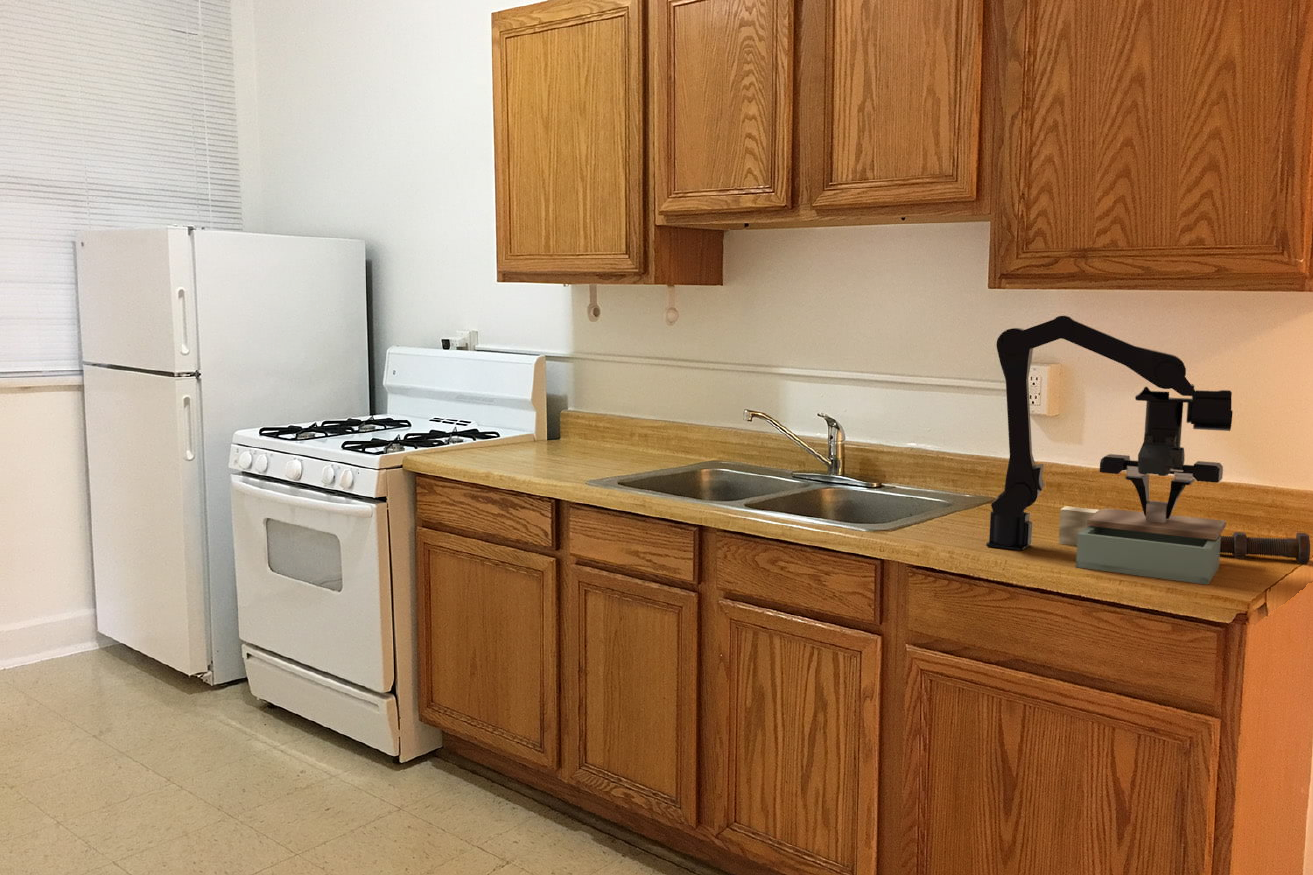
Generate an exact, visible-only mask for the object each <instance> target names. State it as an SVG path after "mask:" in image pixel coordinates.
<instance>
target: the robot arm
mask: <svg viewBox="0 0 1313 875" xmlns="http://www.w3.org/2000/svg"><path fill="white" fill-rule="evenodd" d="M1060 339H1061V340H1065V341H1067V342H1071V343H1072V344H1074V345H1077V346H1078V347H1081V348H1084V349H1086V350H1089V351H1091V352H1093V353H1096V354H1098V355H1100V356H1103V357H1105V358H1107V359H1110V360H1112V361H1113V362H1117V363H1119V364H1121V365H1123V366H1125V367H1127V368H1128V369H1130V370H1131V371H1133V372H1134V373H1136V374H1137V375H1139V376H1140V377H1141V378H1143V379H1144V380H1146V381H1148V382H1149V383H1151V384H1152V385H1153V386H1155V387H1157V388H1159V389H1162V390H1163V389H1164V390H1171V389H1172V390H1173V391H1174V392H1176V393H1178V394H1179V395H1180V396H1182V397H1183V398H1182V397H1170V391H1161V390H1160V391H1158V390H1155V391H1154V390H1151V389H1150V388H1149V387H1148V386H1144V387H1143V389H1142V390H1141V391H1140V392H1139V393H1138V394H1136V395H1135V397H1134V398H1135V401H1139V402H1140V401H1142V402H1146V405H1145V406H1146V408H1145V418H1144V420H1145V421H1144V422H1145V423H1144V435H1143V436H1144V437H1143V443H1142V445H1141V447H1140V450H1139V453H1138V454H1137V460H1132V459H1131V457H1130V455H1128V454H1127V455H1125V454H1113V453H1109V454H1107V455H1105V456H1103V457H1102V458H1100V461H1099V473H1102V474H1112V475H1119V474H1120V473H1121V472H1123V471H1125V472H1126V476H1125V477H1124V478H1125V480H1126V481H1131V483H1132V484H1133V486H1134V487H1135V490H1136V493H1137V495H1138V498H1139V501H1140V504H1141V508H1142V512H1144V515H1145V516H1146V505H1147V503H1148V502H1150V475H1156V476H1157V475H1158V477H1166V476H1168V475H1173V477H1174V478H1173V479H1172V480H1170V489H1169V490H1170V491H1169V496H1168V499H1167V500H1168V501H1167V502H1168V505H1167V510H1166V519H1169V518H1170V516H1171V515H1172V514H1173V511H1174V509H1175V507H1176V504H1177V502H1178V500H1179V498H1180V495H1181V494H1182V493H1183V491H1184V489H1185V488H1186V487H1187V486H1191V485H1192V484H1193V483H1195V481H1197V482H1203V483H1213V484H1214V483H1216V484H1217V483H1220V482H1221V481H1222V480H1223V474H1224V466H1223V465H1222V464H1221V462H1217V461H1216V462H1214V461H1202V460H1201V461H1200V460H1197V461H1195V463H1193V464H1185V447H1181V444H1182V443H1181V441H1182V430H1183V429H1182V428H1183V427H1182V426H1183V413H1184V411H1183V410H1184V403H1187V407H1186V419H1185V420H1186V421H1185V422H1186V424H1190V425H1192V428H1193V430H1201V431H1203V430H1205V431H1222V432H1223V431H1224V432H1230V431H1231V430H1232V429H1231V428H1232V423H1233V422H1232V421H1233V412H1234V411H1233V410H1232V394H1233V392H1232V391H1231V390H1229V389H1221V390H1203V389H1202V390H1199V389H1195V385H1194V384H1192V383H1191V382H1189V380H1188V379H1187V378H1186V373H1187V368H1186V365H1185V364H1184V362H1183V360H1181V358H1180V357H1178V356H1177V355H1174V354H1171V353H1167V352H1163V351H1158V350H1153V349H1150V348H1145V347H1140V346H1136V345H1134V344H1132V343H1129V342H1126V341H1124V340H1121V339H1119V338H1117V337H1114V336H1112V335H1109V334H1107V333H1105V332H1103V331H1100V330H1098V329H1096V328H1093V327H1091V326H1088V325H1086V324H1084V323H1081V322H1080V321H1077V320H1075V319H1073V318H1072V317H1071V316H1068V315H1059V316H1056V317H1054V318H1053V319H1051V320H1048V321H1046V322H1042V323H1040V324H1037V325H1034V326H1031V327H1028V328H1025V329H1024V328H1022V327H1021V328H1020V327H1013V328H1009V329H1006V330H1003V332H1001V334H1000V335H999V336H998V337H997V340H996V345H995V346H996V351H997V355H998V358H999V359H998V360H999V363H1000V366H1001V369H1002V374H1003V375H1004V380H1005V390H1006V391H1005V392H1006V410H1007V411H1006V412H1007V426H1008V427H1007V428H1008V429H1007V430H1008V432H1007V433H1008V448H1009V458H1008V464H1007V465H1008V466H1007V470H1006V475H1005V484H1004V491H1002V492H1001V493H1000V494H999V495H998V496H997V497H996V498H995V499H994V500H993V502H991V505H990V506H991V509H992V510H991V511H990V517H989V518H990V519H989V535H988V536H989V539H988V542H986V544H985V546H986V547H992V548H993V547H994V548H1001V549H1008V550H1016V551H1023V550H1024V549H1027V547H1029V546H1031V544H1032V536H1033V521H1030V514H1031V513H1030V512H1025V511H1026V509H1028V508H1029V507H1030V506H1033V505H1034V503H1035V502H1036V501H1037V500H1038V497H1039V496H1040V494H1041V491H1042V490H1043V489H1044V487H1045V485H1046V484H1045V482H1044V479H1043V472H1044V464H1043V463H1040V464H1039V463H1038V464H1036V461H1035V459H1034V455H1033V447H1032V446H1033V444H1032V443H1033V442H1032V426H1031V423H1032V422H1031V404H1030V387H1029V386H1030V385H1029V377H1030V370H1031V365H1032V360H1033V354H1034V352H1033V351H1034V349H1036V348H1038V347H1040V346H1043V345H1046V344H1049V343H1052V342H1054V341H1057V340H1060ZM1184 397H1185V398H1184ZM1188 397H1191V398H1188Z"/></svg>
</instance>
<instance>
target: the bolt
mask: <svg viewBox="0 0 1313 875" xmlns="http://www.w3.org/2000/svg"><path fill="white" fill-rule="evenodd" d="M1220 554H1227V555H1228V554H1230V555H1231V554H1232V556H1233V557H1234V558H1237V559H1245V558H1246V557H1247V555H1249V556H1250V555H1251V556H1252V555H1253V556H1257V555H1258V556H1264V557H1265V556H1267V557H1270V556H1271V557H1282V558H1283V557H1284V558H1287V559H1288V558H1289V559H1295V561H1296V562H1297V563H1298V564H1302V565H1303V564H1304V565H1307V564H1308V563H1309V561H1310V559H1311V558H1310V556H1311V541H1310V535H1309V534H1308V533H1305V532H1296V535H1295V538H1294V537H1293V538H1292V537H1286V538H1278V537H1277V538H1276V537H1274V538H1273V537H1272V538H1271V537H1257V536H1256V537H1253V536H1250V537H1249V536H1247V534H1246V533H1245V532H1242V531H1235V532H1233V534H1232V535H1229V536H1228V535H1227V536H1226V535H1221V542H1220Z"/></svg>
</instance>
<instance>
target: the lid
mask: <svg viewBox="0 0 1313 875" xmlns="http://www.w3.org/2000/svg"><path fill="white" fill-rule="evenodd" d="M1167 505H1168V501H1157V500H1149V502H1148V503H1147V505H1146V516H1145V515H1144V512H1143V511H1135V510H1124V509H1117V508H1116V509H1115V508H1107V507H1106V508H1105V507H1103V508H1102V509H1100V510H1099V512H1098V513H1096V514H1095V515H1093V516H1092V517H1091V518H1089V519H1088V520H1087V526H1095V527H1104V528H1113V529H1122V530H1130V531H1139V532H1148V533H1157V534H1166V535H1175V536H1184V537H1193V538H1201V539H1210V540H1216V539H1217V538H1218V537H1219V535H1222V532H1223V531H1224V530H1225V528H1226V527H1227V520H1223V519H1214V518H1213V519H1212V518H1206V517H1205V518H1204V517H1193V516H1184V515H1175V514H1171V516H1170V518H1169V519H1166V510H1167Z"/></svg>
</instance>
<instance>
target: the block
mask: <svg viewBox="0 0 1313 875" xmlns="http://www.w3.org/2000/svg"><path fill="white" fill-rule="evenodd" d="M1099 511H1100V509H1097V508H1096V509H1095V508H1086V507H1077V506H1063V507H1062V508H1060V512H1059V524H1058V525H1059V526H1058V528H1059V529H1058V530H1059V531H1058V544H1059V545H1066V546H1067V545H1068V546H1076V547H1077V539H1078V533H1080V532H1081V531H1082V530H1084V529H1085V528H1087V527H1088V526H1087V520H1088V519H1089V518H1091V517H1092V516H1093V515H1095V514H1096V513H1098V512H1099Z"/></svg>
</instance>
